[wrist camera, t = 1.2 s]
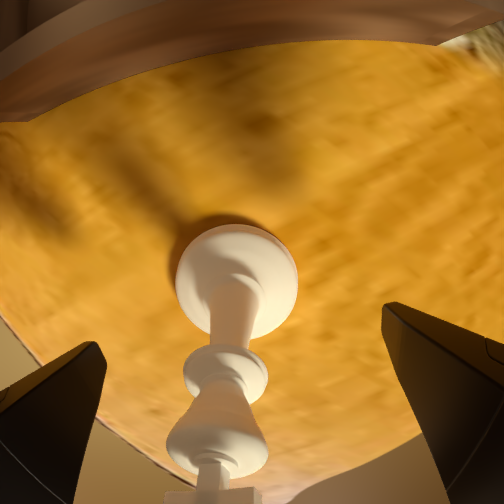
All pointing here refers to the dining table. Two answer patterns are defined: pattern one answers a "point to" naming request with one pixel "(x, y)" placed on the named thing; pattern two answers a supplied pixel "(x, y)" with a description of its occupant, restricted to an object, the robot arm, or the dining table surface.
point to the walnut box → (190, 36)
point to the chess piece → (228, 356)
